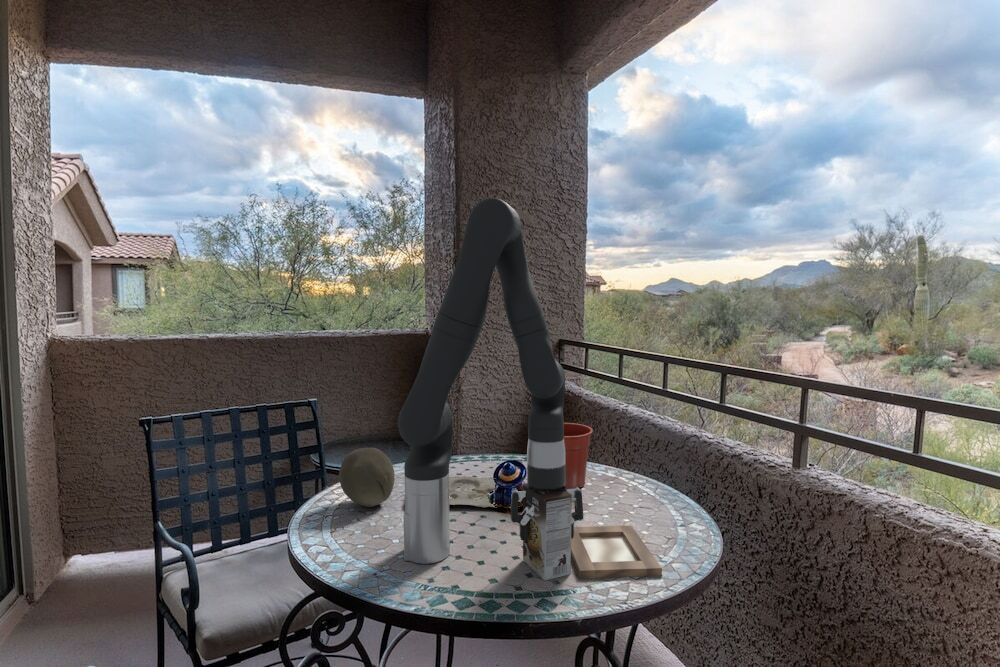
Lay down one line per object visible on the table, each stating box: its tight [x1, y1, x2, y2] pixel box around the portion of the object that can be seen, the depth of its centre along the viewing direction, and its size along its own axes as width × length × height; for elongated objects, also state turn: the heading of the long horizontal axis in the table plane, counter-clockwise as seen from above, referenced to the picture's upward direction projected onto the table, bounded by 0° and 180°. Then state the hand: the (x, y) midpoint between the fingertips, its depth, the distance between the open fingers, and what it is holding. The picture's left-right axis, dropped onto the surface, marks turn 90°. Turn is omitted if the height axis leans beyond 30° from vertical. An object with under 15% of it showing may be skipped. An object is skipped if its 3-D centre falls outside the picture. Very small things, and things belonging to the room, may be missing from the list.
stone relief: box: [449, 476, 496, 508], centre depth 141 cm, size 32×3×20 cm
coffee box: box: [522, 482, 573, 581], centre depth 103 cm, size 9×6×16 cm
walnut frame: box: [571, 524, 663, 579], centre depth 109 cm, size 16×19×2 cm
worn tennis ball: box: [338, 447, 396, 508], centre depth 134 cm, size 14×14×15 cm
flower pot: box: [564, 422, 593, 489], centre depth 150 cm, size 16×16×16 cm
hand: (546, 540), depth 103 cm, fingers open, 8 cm apart
